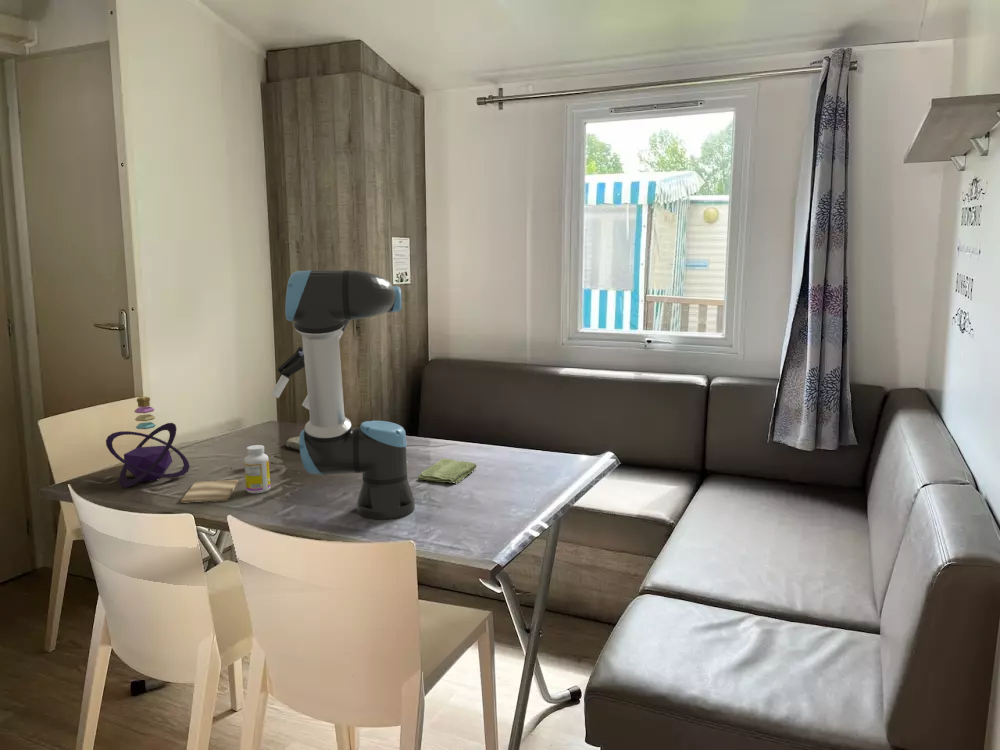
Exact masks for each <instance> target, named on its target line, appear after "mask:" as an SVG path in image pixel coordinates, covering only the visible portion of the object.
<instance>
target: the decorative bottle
mask: <svg viewBox="0 0 1000 750" xmlns="http://www.w3.org/2000/svg"><path fill="white" fill-rule="evenodd" d="M136 402H137V408H136V409H135V410H134V414H135V413H136V414H139V415H138V416H137V417H136V418H135V419H134V421H136V422H139V424H137V425H136V426H135V429H137V430H149V429H153V428H155V427H156V426H157V424H155V423H153V422H151V421H152V420H155V419H156V417H155V416H154V415H152V414H149V413H152V412H154V411H155V408H153V407H152V406H150V404H151V403H150V402H151V397H149V396H139V397H137V398H136ZM163 431H168V433H169V437H168V441H167V442H166V441H165V440H162V439H160V438H157V437H156V436H155V435H157V434H158V433H161V432H163ZM124 435H125V436H127V435H128V436H129V435H131V436H132V435H133V436H139V437H140V436H141V437H144V438H143V440H142V441H141V442H139V444H138V445H137V446H136V447H135V448H134V449H132V450H130V451H128V452H125V453H124V454H123V458H122V457H121V456H120V454H118V453H117V452H116V450H115V449H114V447H113V441H114V439H116V438H118V437H120V436H121V437H122V436H124ZM176 435H177V425H176V424H175V423H174V422H167V423H165V424H162V425H161V426H159V427H157V428H156V429H154V430H153V431H152V432H150V433H149V434H145V433H142V432H138V431H136V432H135V431H129V430H128V431H127V430H126V431H120V430H119V431H116V432H113V433H111V434H110V435H108V436H107V437H106V440H105V445H106V447H107V450H108V451H109V453H111V455H112V456H113V457H114V458H115V459H116V460H118V461H119V462H121V463H123V464H124V465H123V466H122V468H121V471H120V472H119V473H120V474H119V477H118V484H119V486H120V487H121V488H125V489H126V488H130V487H131V486H133V487H134V485H136V484H138V483H139V482H143V483H145V482H144V481H147V482H151V481H150V480H155V481H158V480H157V479H159V480H160V479H161V478H178V477H182V476H185V475H186V474H187V473H188V472H189V470H190V463H189V460H188V459H187V457H186V456H185V455H184V453H182V452H181V451H180V450H179V449H178V448H176V447H175V446H173V442H174V440H175V437H176ZM150 439H151V440H154V441H156V442H159V443H160V444H162V445H153V446H144V445H145V444H146V443H147V442H148V441H149V440H150ZM170 449H171V450H173V451H174V452H175V453H176V454H177V455H178V456H179V458H180V459H181V460H182V463H183V467H182V468H181V470H179V471H177V472H174V473H166V471H167V470H168V469H169V467H170V465H171V464H172V463H173V458H172V455H171V451H170ZM127 471H129V473H131V474H132V475H133V476H134V478H127Z"/></svg>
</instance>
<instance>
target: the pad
mask: <svg viewBox="0 0 1000 750" xmlns="http://www.w3.org/2000/svg"><path fill="white" fill-rule="evenodd" d="M237 483H238V484H239V480H238V479H226V480H224V479H223V480H208V481H206V480H205V481H194V483H193V484H192V485H191V487H190V488H189V489H188V491H186V493H185V494H184V495H183V497H182V498H181V500H180V504H181V503H184V502H192V501H193V502H195V501H201V502H202V501H221V502H227V501H226V500H228V501H229V499H230V498H231V496H232V494H233V493H234V491H235V489H236V488H237V486H238V484H237ZM236 485H237V486H236ZM235 487H236V488H235ZM234 488H235V489H234ZM233 490H234V491H233ZM232 492H233V493H232ZM231 493H232V494H231ZM230 495H231V496H230ZM228 498H229V499H228Z"/></svg>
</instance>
